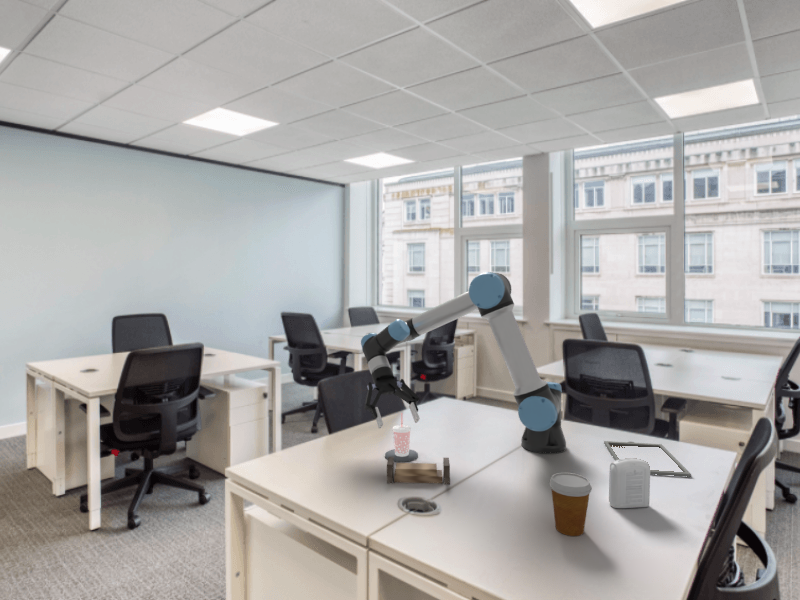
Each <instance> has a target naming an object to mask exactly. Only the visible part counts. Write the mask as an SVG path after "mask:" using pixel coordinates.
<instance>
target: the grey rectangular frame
mask: <svg viewBox="0 0 800 600" xmlns="http://www.w3.org/2000/svg"><path fill="white" fill-rule="evenodd" d="M603 444H605V445H604V446H605V448H606V447H607V448H606V449H607V451H608V452H609V454H610V456H611V457H612V456H613V457H612V458H613V460H614V461H616V460H619V458H618V457H617V455H616V454H615V452H614V451H613V449H612V448H611V447H612V445H613V447H615V446H616V447H618V446H619V448H620V446H621V447H622V446H638V447H659V448H661V449H662V450H663V451H664V452H665V453H666V454H667V455H668V456H669V457H670V458H671V459H672V460H673V461H674V462H675V463H676V464H677V465H678V467H679V468H680V469H681V470H682V471H683V472H674V471H659V470H650V474H654V475H653V476H660V475H674V476H687V477H686V478H688V477H691V478H692V473H691V472H690V471H689V470H688V469H686V468H685V466H683V464H682V463H681V462H680V461H679V460H678V459H677V458H676V457H675V456H674V455H673V454H672V453H671V452H670V451H669V450H668V449H667V448H666V447H665V446H664V445H663V444H662V443H646V442H645V443H644V442H634V441H615V440H614V441H613V440H611V441H609V440H603ZM622 448H623V447H622ZM624 448H625V447H624ZM655 474H657V475H655ZM674 476H673V477H674Z"/></svg>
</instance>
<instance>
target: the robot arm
mask: <svg viewBox="0 0 800 600" xmlns="http://www.w3.org/2000/svg"><path fill="white" fill-rule="evenodd" d="M468 287H469V288H468V291H466V292H463V293H462V294H459V295H458V296H457V295H456V296H455V297H453V298H451V299H449V300H447V301H445V302H443V303H441V304H439V305H437V306H435V307H432V308H430V309H428V310H426V311H424V312H422V313H420V314H418V315H416V316H413V317H411V318H410V319H407V320H402V319H401V318H396V319H395V320H394V321H392V322H390V323H389V324H388V325H387V326H386V327H385V328H383V329H381V331H380V332H378V333H376V332H370V333H368V334H365V335H364V336H362V338H361V339H360V345H361V350H362V352H363V355H364V358H365V360H366V363H367V366H368V370H369V373H370V374H371V378H372V381H373V383H372V382H368V384H367V386H366V391H367V393H366V397H365V403H364V408H363V409H364V411H368V412H369V413H371V416H372V418H373V420H374V419H375V421H376V424H377V427H378V429H382V427H383V426H384V422H383V419H382V416H381V412H380V410H379V407H378V406H376V405H377V403H378V402H379V399H380V397H381V396H382V395H383V396H387V395H388V396H389V395H394V396H397V397H399V398H400V399H401V400H402V401H404V402H406V403H407V404H408V405H409V406H408V407H409V409H410V410H409V411H410V413H411V416H412V418H413V422H414V423H415V424H417V423H418V422H419V421H420V419H421V418H420V415H419V413H418V412H419V408H418V405H417V404H418V402H419V400H420V397H419V395H417V393H415V391H413V390H412V388H410V387H409V385H408V384H406V381H405V380H404V379H403V378H401V379H399V380H398V381H396V380H395V376H394V373H393V371H392V368H391V365H390V362H389V360H388V356H387V353H388V352H390V351H391V350H392V349H394V348H395V347H396V346H398V345H400V344H404V343H406V342H411V341H413V340H415V339H416V338H418V337H421V336H422V335H426V334H427V333H428V332H432V331H433V330H435V329H438V328H440V327H442V326H445V325H446V324H449V323H451V322H453V321H455V320H458V319H460V318H462V317H465V316H467V315H468V314H471V313H474V312H475V311H477V310H478V312H479V314H480V317H481V318H482V319H484V320H487V322H488V324H489V327H490V329H491V332H492V334H493V336H494V339H495V341H496V344H497V346H498V348H499V351H500V353H501V356H502V358H503V361H504V362H505V366H506V368H507V370H508V373H509V375H510V378H511V380H512V383H513V385H514V387H515V388H514V392H513V393H512V394H513V397H514V400H515V403H516V405H517V414H518V418H519V421H520V422H521V423H522V425H523V426H524V430H523V432H522V436H521V446H522V448H523V449H525V450H528V451H530V452H533V453H539V454H548V455H549V454H550V455H551V454H552V455H554V454H560V453H563V452H565V451H566V450H567V441H566V437H565V434H564V431H563V429H562V394H563V391H562V385H561V384H560V383H559V382H553V381H546V380H545V379H544V380H543V379H542V378H541V377H540V374H539V372H538V370H537V368H536V365H535V363H534V360H533V358H532V356H531V352H530V351H529V348H528V346H527V344H526V341H525V339H524V336H523V334H522V331H521V329H520V326H519V325H518V322H517V319H516V317H515V315H514V312H513V309H514V307H515V303H514V301H513V298H512V294H511V293H512V284H511V281H510V280H509V278H507V277H506V275H504V274H502V273H499V272H491V271H486V272H482V273H480V274H477V275H476V276H475V277H474V278H473V279H472V280H471V282H470V284H469V286H468ZM374 389H375V390H376V391H377V394H376V395H375V398H374V400H373V401H372V403H371V399H372V396H373V395H372V394H373V390H374Z"/></svg>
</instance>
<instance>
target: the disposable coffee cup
mask: <svg viewBox="0 0 800 600" xmlns="http://www.w3.org/2000/svg"><path fill="white" fill-rule="evenodd" d="M548 483H549V486H550V490H551V497H552V507H553V516H554V524H555V525H554V526H555V529H556V531H558V532H559V533H561V534H562V535H566V536H568V537H569V536H570V537H579V536H582V535H583V534H584V533H585V525H586V519H587V512H588V506H589V499H590V493H591V491H592V489H593V486H592V485H591V482H590V480H589V479H588V478H587V477H586V476H584V475H582V474H578V473H574V472H556V473H554V474H552V475H551V476H550V480H549V482H548Z"/></svg>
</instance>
